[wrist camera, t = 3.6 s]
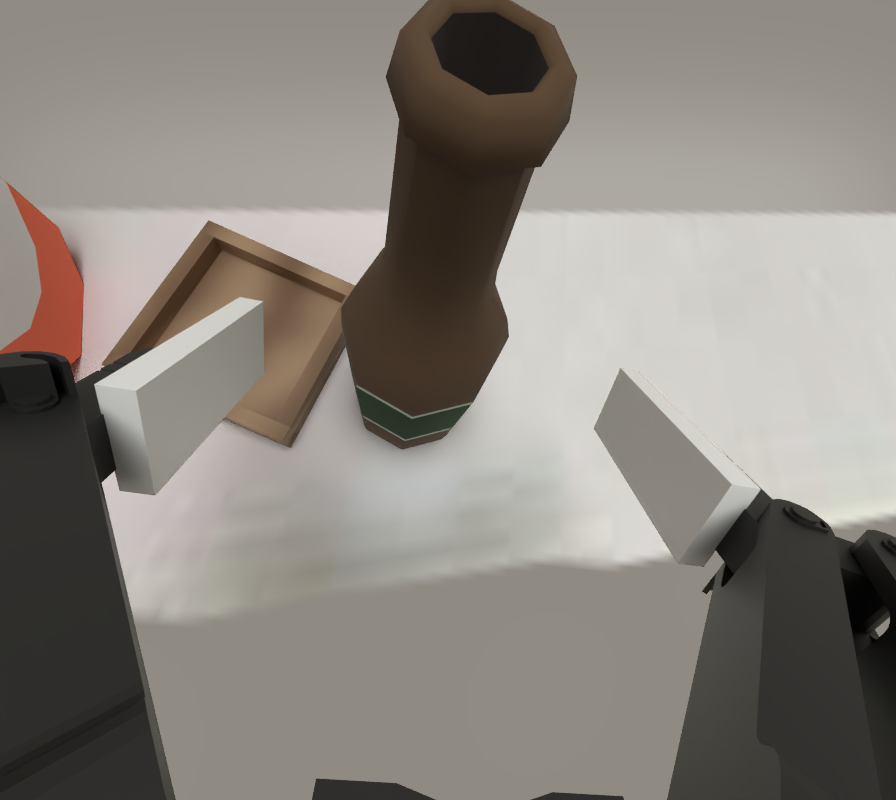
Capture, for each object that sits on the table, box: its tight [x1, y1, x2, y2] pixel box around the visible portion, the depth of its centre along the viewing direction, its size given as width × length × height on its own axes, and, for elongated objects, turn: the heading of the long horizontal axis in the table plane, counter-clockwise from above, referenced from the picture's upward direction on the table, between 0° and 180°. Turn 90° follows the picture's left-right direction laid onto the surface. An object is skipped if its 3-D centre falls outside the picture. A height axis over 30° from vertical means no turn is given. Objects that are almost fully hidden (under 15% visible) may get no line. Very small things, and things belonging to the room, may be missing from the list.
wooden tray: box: [102, 221, 355, 447], centre depth 28 cm, size 12×12×2 cm
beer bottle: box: [341, 0, 577, 449], centre depth 19 cm, size 8×8×24 cm
